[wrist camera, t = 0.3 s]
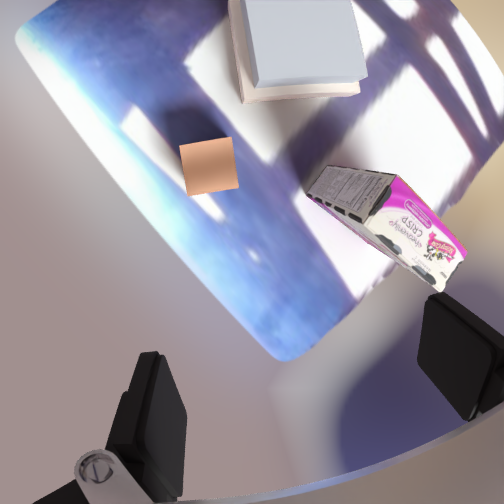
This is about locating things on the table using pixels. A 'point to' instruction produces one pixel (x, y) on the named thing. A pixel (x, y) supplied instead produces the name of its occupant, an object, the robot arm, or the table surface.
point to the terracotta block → (209, 166)
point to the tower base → (279, 92)
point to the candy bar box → (391, 220)
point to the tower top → (302, 42)
